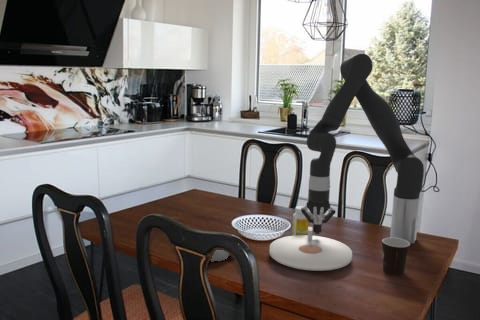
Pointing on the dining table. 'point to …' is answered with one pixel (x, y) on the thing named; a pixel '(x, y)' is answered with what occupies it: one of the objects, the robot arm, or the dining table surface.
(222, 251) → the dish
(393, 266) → the coffee mug
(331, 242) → the disc
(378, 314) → the dining table surface
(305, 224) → the supplement bottle
